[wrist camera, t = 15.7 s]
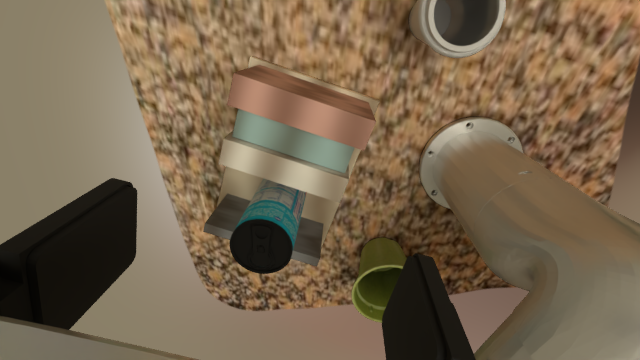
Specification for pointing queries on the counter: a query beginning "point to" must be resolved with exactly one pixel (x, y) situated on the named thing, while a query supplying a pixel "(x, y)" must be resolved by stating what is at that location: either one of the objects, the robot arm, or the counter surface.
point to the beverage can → (268, 228)
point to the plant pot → (377, 277)
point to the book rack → (291, 147)
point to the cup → (457, 24)
